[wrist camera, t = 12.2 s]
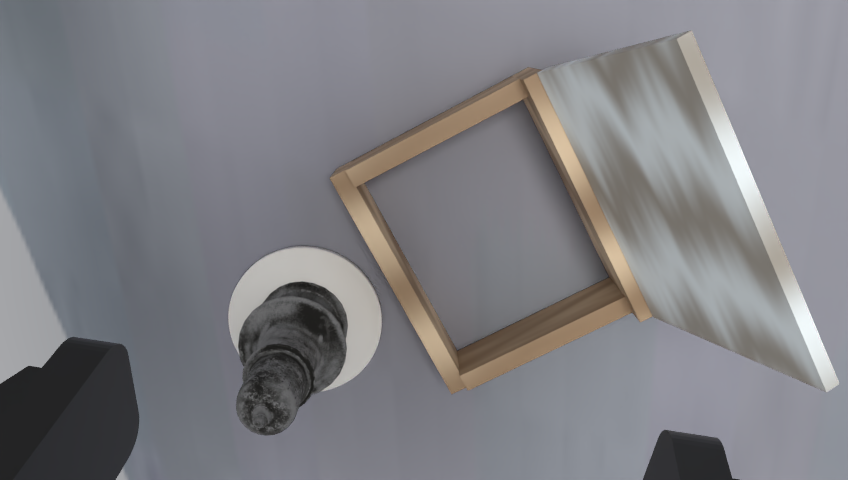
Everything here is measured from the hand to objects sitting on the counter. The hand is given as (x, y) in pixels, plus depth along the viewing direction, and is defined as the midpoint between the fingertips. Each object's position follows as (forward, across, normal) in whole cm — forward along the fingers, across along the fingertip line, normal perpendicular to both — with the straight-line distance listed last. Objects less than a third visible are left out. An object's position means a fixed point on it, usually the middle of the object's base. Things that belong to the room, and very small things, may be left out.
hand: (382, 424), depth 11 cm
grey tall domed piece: (+25, +8, +20) cm, 33 cm away
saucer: (+26, +8, +20) cm, 33 cm away
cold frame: (+29, -3, +13) cm, 32 cm away
